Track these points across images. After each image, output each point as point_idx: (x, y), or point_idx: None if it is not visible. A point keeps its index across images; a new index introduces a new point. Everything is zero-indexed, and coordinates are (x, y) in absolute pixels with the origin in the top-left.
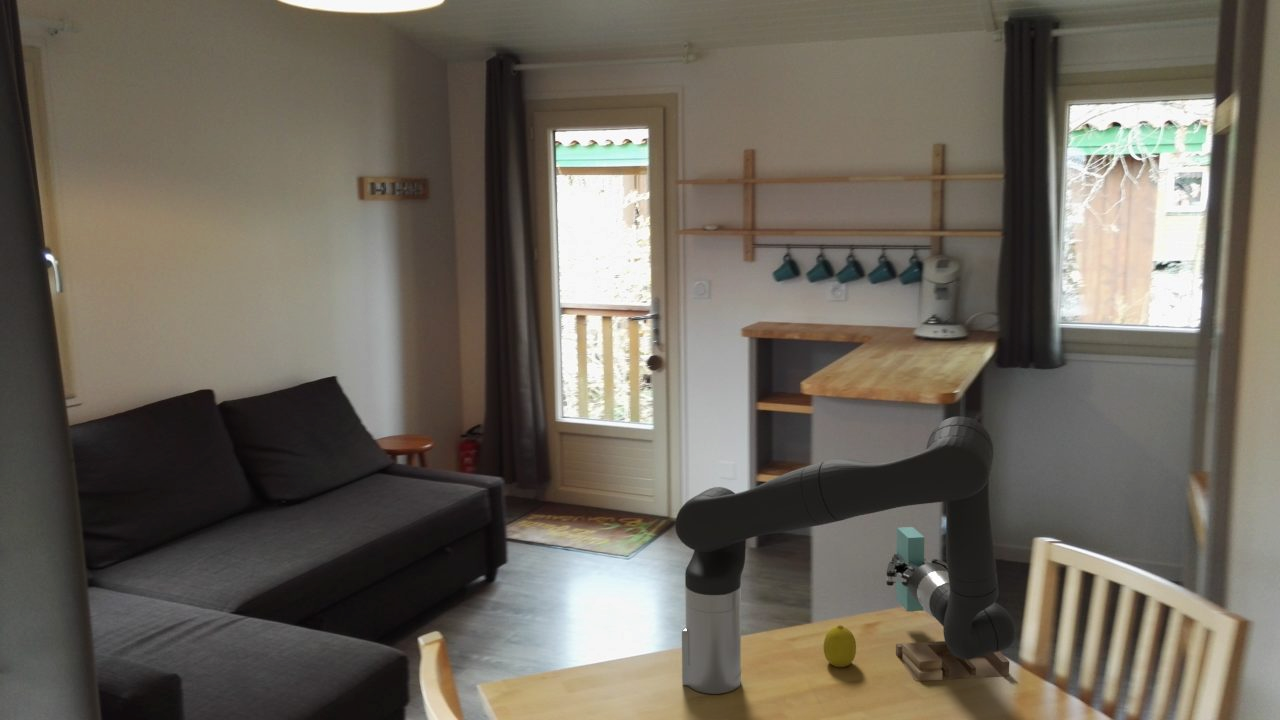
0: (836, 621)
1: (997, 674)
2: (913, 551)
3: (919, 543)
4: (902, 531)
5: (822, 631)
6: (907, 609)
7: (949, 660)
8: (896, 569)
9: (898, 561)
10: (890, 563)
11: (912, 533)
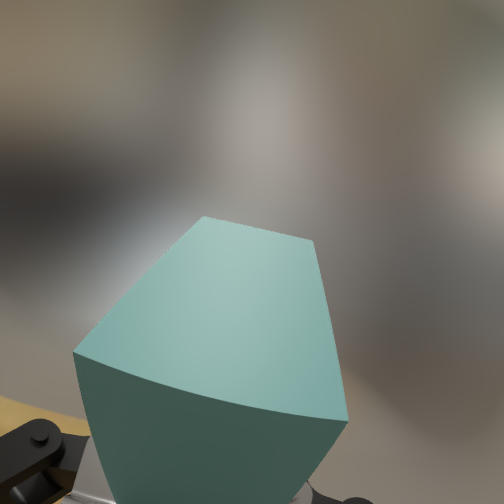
0: (64, 417)
1: None
2: (159, 485)
3: (244, 462)
4: (186, 245)
5: (5, 429)
6: None
7: None
8: (63, 478)
9: (87, 446)
10: (19, 437)
11: (244, 293)
